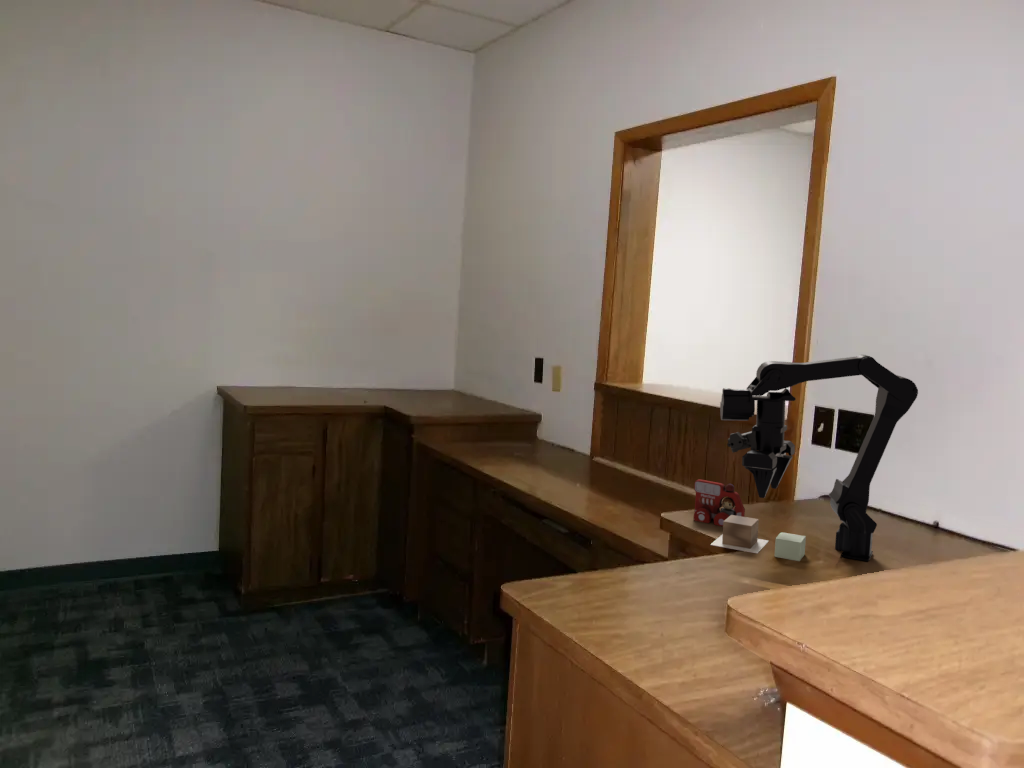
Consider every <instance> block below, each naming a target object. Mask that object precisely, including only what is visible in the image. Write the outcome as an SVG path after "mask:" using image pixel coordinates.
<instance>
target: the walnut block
mask: <svg viewBox="0 0 1024 768" xmlns="http://www.w3.org/2000/svg"><path fill="white" fill-rule="evenodd" d="M759 522H760V521H759V519H758V518H754V517H747V516H744V517H742V516H736V515H730V516H729V517H728V518H727V519H726V520H724V521H723V526H722V534H723V539H722V544H726V545H732V546H737V547H743V548H748V549H751V548H752V547H753V545H754V544H755V543H756V542H757V540H758V539H759Z"/></svg>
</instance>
